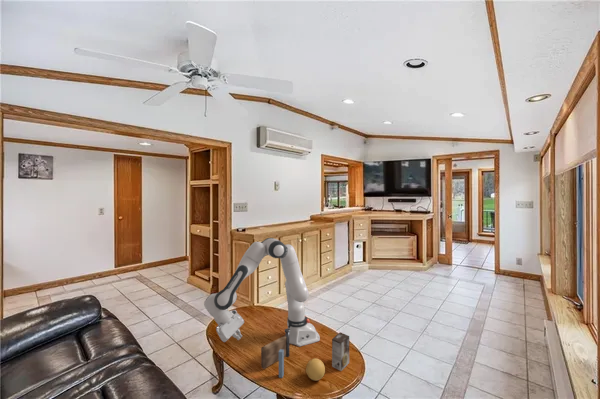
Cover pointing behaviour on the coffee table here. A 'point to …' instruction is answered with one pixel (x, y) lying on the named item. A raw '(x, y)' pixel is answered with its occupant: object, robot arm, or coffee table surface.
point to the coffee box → (340, 351)
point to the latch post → (281, 363)
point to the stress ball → (315, 369)
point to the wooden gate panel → (272, 352)
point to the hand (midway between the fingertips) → (240, 338)
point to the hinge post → (287, 341)
